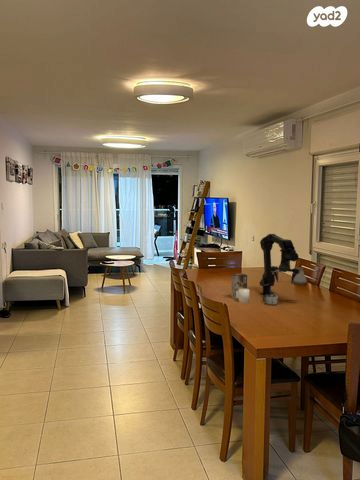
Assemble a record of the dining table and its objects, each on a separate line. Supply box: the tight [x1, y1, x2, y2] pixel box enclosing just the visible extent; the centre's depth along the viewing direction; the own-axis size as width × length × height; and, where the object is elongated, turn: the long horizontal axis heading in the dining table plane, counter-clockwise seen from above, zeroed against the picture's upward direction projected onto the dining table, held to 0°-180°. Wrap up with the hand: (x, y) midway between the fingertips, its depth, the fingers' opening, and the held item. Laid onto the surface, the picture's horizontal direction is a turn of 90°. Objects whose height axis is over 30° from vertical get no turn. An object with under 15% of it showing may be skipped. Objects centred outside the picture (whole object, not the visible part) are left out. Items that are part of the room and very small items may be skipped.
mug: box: [236, 288, 250, 304], centre depth 272 cm, size 7×9×8 cm
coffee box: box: [230, 273, 248, 300], centre depth 281 cm, size 9×6×16 cm
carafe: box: [262, 294, 279, 306], centre depth 266 cm, size 7×10×5 cm
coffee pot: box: [292, 266, 308, 286], centre depth 330 cm, size 21×12×15 cm, turn 88°
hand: (284, 282), depth 270 cm, fingers open, 9 cm apart
